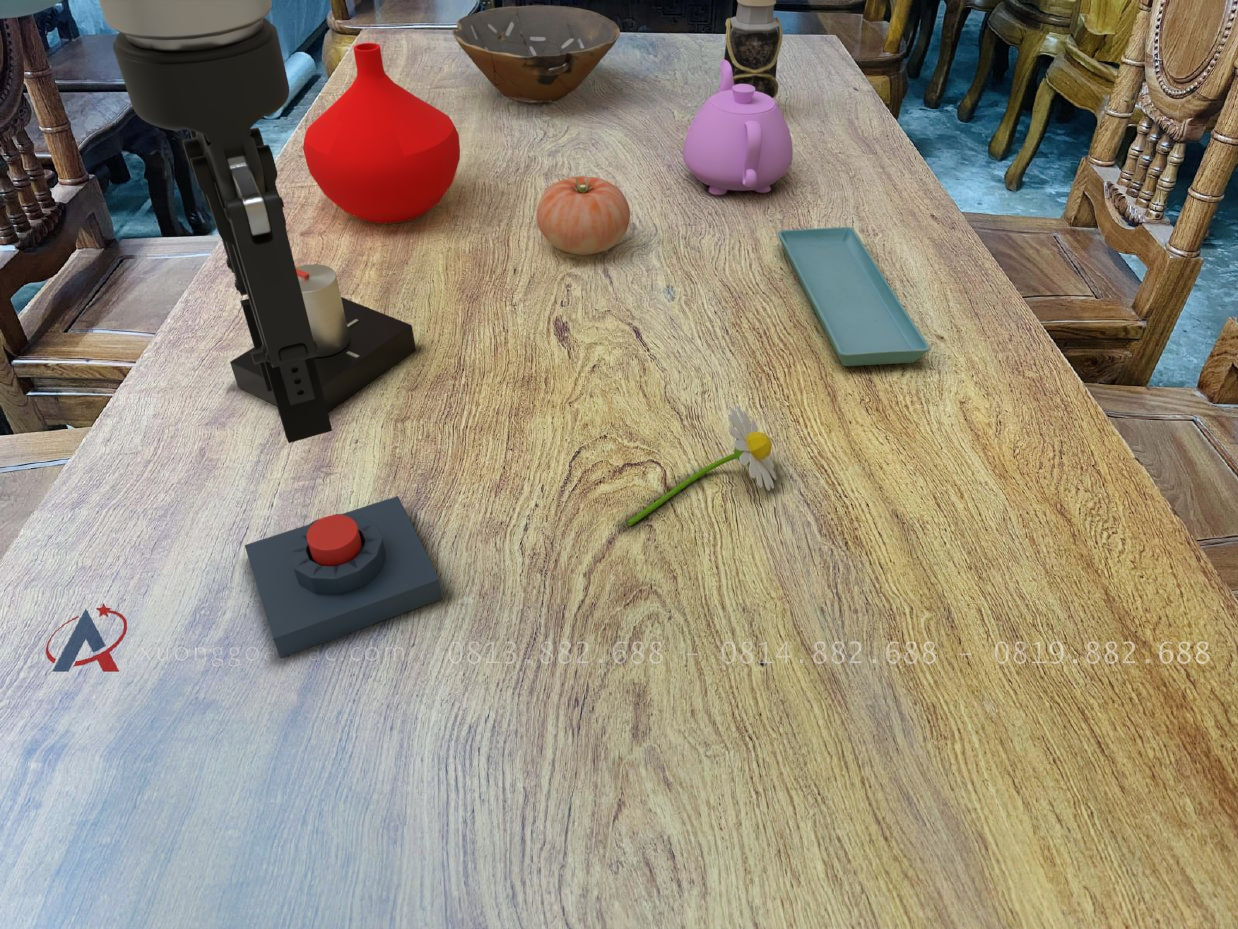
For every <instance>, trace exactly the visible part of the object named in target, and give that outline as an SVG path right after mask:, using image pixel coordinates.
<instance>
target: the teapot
mask: <svg viewBox="0 0 1238 929" xmlns="http://www.w3.org/2000/svg"><path fill="white" fill-rule="evenodd" d="M719 68H720V82H719V87H718V91H717V92H716V93H714V94H713V95H711V96H710V97H709V98H708V99H707V101H705V103H704V104H703V105H702V107H701V108H700V110H699V111H698V112H697V114H696V116H695V117H694V119H693V120H692V122H691V123H690V126H689V128H688V130H687V132H686V136H685V139H684V143H683V147H682V158H683V162H684V164H685V166H686V167H687V169H688V170H689V172H690V173H691V174H692V175H693V176H694V177H695V179H697V180H698V181H700V182H701V183H703V184H705V185H707V186H709V188H708V192H709V193H710V194H712V195H717V196H720V195H721V196H722V195H724V194H726V193H727V192H728V191H754V192H756V193H764V194H765V193H768V192H770V191H771V189H772V188H771V187H770V186H771V185H773V184H775V183H776V182H777V181H778V180H780V179H781V178H782V177H783V176H784V175H785V174H786V173H787V172H788V171H789V169H790V168H791V166H792V163H793V156H794V152H793V151H794V150H793V149H794V148H793V142H792V136H791V132H790V128H789V126H788V123H787V121H786V119H785V117H784V115H783V113H782V110H781V108H780V107H779V105H778V103H777V102H776V101H775V99H774V98H771V97H770V96H768V95H766V94H764V93H761V92H757V91H755V87H754V86H752V85H749V84H737V85H734V80H733V73H732V68H731V65H730V63H729V62H728V61H727V60H724V59H721V60H720V67H719Z"/></svg>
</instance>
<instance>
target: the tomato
mask: <svg viewBox="0 0 1238 929" xmlns="http://www.w3.org/2000/svg"><path fill="white" fill-rule="evenodd" d="M630 220H631V210H630V206H629V203H628V200H627V198H626V196H625V194H624V193H623V191H622V190H621V189H620V188H619V187H618V186H616V185H614V184H613V183H611V182H610V181H608V180H605V179H603V178H600V177H596V176H585V175H579V176H570V177H568V178H564V179H561V180H558V181H556V182H555V183H552V184H551V185H550V186H549V187H548V188H546V190H544V192H543V193H542V195H541V197H540V199H539V200H538V204H537V206H536V222H537V226H538V229H539V231H540V233H541V235H542V236H543V238H544V239H545V240H547V242H548V243H549V244H550V245H551V246H553V247H555V248H556V249H558V250H559V251H562V252H565V253H568V254H572V255H580V256H582V255H583V256H587V255H596V254H598V253H601V252H605V251H607V250H608V249H611V248H613V247H614V246H615V245H617V244H618V243H619V242H620V241H621V240H622V238H623V237H624V235H625V234H626V232H627V231H628V227H629V225H630Z"/></svg>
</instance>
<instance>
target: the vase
mask: <svg viewBox="0 0 1238 929" xmlns="http://www.w3.org/2000/svg"><path fill="white" fill-rule="evenodd" d="M352 49H353V54H354V60H355V66H356V77H355V78H354V80H353V82H352V83H351V85H350V86H349V88H347V89H346V91H345V92H343V94H342V95H341V96H340V97H339V98H338V99H337V100H336V101H335V102H333V104H332V105H330V106H329V107H328V108H327V109H326V110H325V111H324V112H323V113H322V114H321V115H320V116H318V118H316V119H315V120H314V121H313V122H312V123H311V124H310V125H309V126H308V127H307V129H306V131H305V134H304V138H303V139H304V140H303V146H302V151H303V154H304V157H305V161H306V166H307V169H308V172H309V174H310V175H311V178H313V180H314V181H315V183H316V184H317V186H318V188H320V190H321V191H322V193H323V194H324V196H326V197H327V198H328V199H329V200H330V201H331V202H332V203H334V205H336V206H337V207H338V208H340V209H341V210H342V211H344V213H347V214H349V215H351V216H353V217H355V218H358V219H359V220H362V221H364V222H369V223H373V224H397V223H398V224H399V223H403V222H404V223H405V222H407V221H412V220H415V219H417V218H419V217H421V216H424V215H425V214H427V213H428V212H430V211H431V210H432V209H433V208H434V207H435V206H437V205H438V204H439V203H440V202H441V201H442V199H443V197H444V196H445V195H446V193H447V191H448V190H449V189H450V187H451V185H452V184H453V182H454V179H455V176H456V173H457V169H458V167H459V163H460V161H461V160H460V159H461V146H460V145H461V144H460V134H459V132H458V130H457V128H456V126H455V124H454V122H453V121H452V119H451V118H450V116H449V115H448V114H447V113H445V112H443V111H442V110H440V109H438V108H436V107H434V106H433V105H431V104H430V103H428V102H426V101H424V100H423V99H421V98H420V97H418V96H416V95H414V94H413V93H411V92H410V91H408V90H406V89H405V88H403V87H402V86H400V85H399V84H398V83H396V82H394V81H393V80H392V79H391V78H390V76H389V75H388V74H386V71H385V68H384V62H383V55H382V50H381V49H382V48H381V45H380V44H378V43H376V42H362V43H358V44H356V45H354V46H353V48H352Z"/></svg>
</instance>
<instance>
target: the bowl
mask: <svg viewBox="0 0 1238 929" xmlns="http://www.w3.org/2000/svg"><path fill="white" fill-rule="evenodd" d="M456 27H457V29H455V28H452V35H453V37H454V39H455V40H456V42H457V44H458V46H459V47H460V48H461V49H462V50H463V51H464V53H465V54H466V55H467V56H468V57H469V58H470V59H471V61H472V62H473V63H474V65H475V66H476V67H477V69H479V71H480V72H481V73H482V74H483V75H484V76H485V78H486V79H487V80H488V81H489V82H490V84H491V85H492V86H493V87H495V89H496V90H497V91H498V92H499V93H500V94H502V95H503V96H504V97H506V98H507V99H510V100H511V101H514V102H518V103H523V104H531V105H533V104H535V105H537V104H539V105H540V104H544V103H545V104H547V103H550V102H556V101H559V100H562V99H563V98H565V97H566V96H568V95H569V94H570V93H573V92H574V91H575V90H577V89H578V87H580V85H581V84H582V83H583V82H584V81H585V80H586V79H587V78H588V77H589V75H591V73H592V72H593V71H594V70H595V68H596V67H597V66H598V64H599V63H600V62H601V61H602V59H603V58H604V57H605V56H606V55H607V54H608V53H609V51H611V49H612V48H613V46H615V44H616V42H617V41H618V39H619V38H620V35H621V30H620V28H619V26H618V25H617V23H616V22H615V21H614V20H611V19H610V18H608V17H607V16H605V15H602V14H600V13H598V12H595V11H592V10H589V9H584V8H579V7H574V6H573V7H572V6H567V5H566V6H565V5H548V4H547V5H545V4H543V5H542V4H541V5H539V4H538V5H537V4H535V5H520V6H519V5H518V6H514V5H513V6H502V7H501V6H500V7H495V8H488V9H485V10H482V11H478V12H475V13H472V14H468V15H466V16H463V17H462V18H460V19H458V20H457V21H456Z"/></svg>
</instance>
